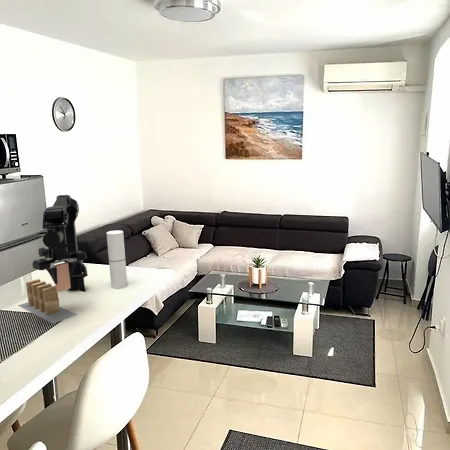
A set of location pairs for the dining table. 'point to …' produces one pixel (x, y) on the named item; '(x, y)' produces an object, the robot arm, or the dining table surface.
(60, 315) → the mat
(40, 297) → the domino
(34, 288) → the domino
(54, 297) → the domino
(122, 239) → the cylindrical container
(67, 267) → the terracotta domino
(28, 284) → the domino
